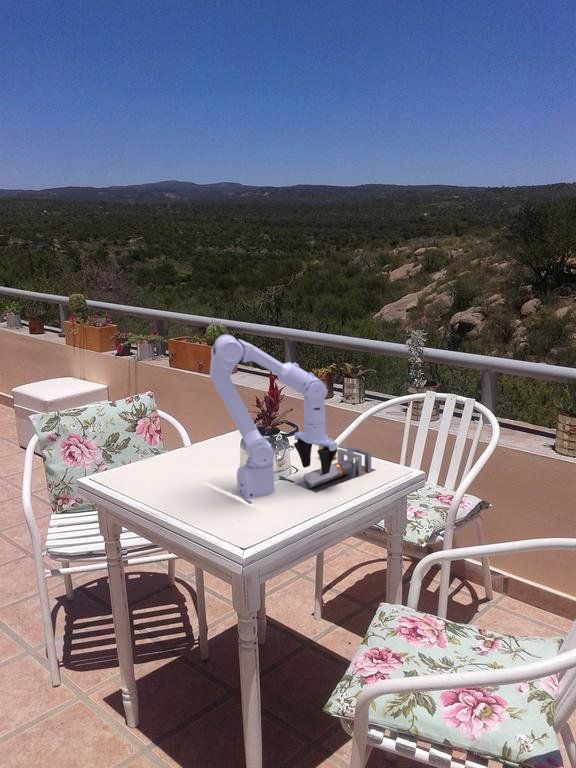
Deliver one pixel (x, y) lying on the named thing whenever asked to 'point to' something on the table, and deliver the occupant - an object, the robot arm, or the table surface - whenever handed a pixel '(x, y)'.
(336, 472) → the tube
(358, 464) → the grey holder stand
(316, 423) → the robot arm
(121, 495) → the table surface
